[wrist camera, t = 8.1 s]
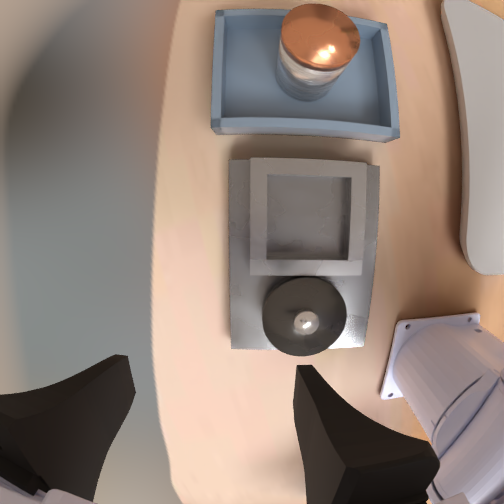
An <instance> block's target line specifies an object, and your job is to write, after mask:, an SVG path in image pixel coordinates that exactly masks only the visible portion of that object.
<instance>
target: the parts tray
mask: <svg viewBox="0 0 504 504" xmlns="http://www.w3.org/2000/svg"><path fill="white" fill-rule="evenodd" d="M289 11H291V10H284V9H231V10H216V15H215V31H214V49H213V70H212V97H211V129H212V130H213V131H214V132H215V134H216V135H230V134H275V135H304V136H322V137H336V138H347V139H358V140H367V141H376V142H384V143H386V142H389V141H392V140H395V139H398V138H400V129H399V112H398V100H397V89H396V80H395V72H394V64H393V57H392V50H391V44H390V38H389V33H388V27H387V24H385V23H381V22H376V21H371V20H366V19H361V18H356V17H350V16H348V17H349V18H350V19H351V20H352V21H353V23H354V24H355V25H356V27H357V29H358V32H359V35H360V46H359V49H358V51H357V53H356V54H355V56H354V57H353V59H352V60H351V61H350V63H349V64H348V66H347V67H346V68H345V70H344V71H343V73H342V74H341V76H340V77H339V78H338V80H337V81H336V83H335V84H334V86H333V87H332V89H331V90H330V91H329V93H328V94H327V95H326V96H325V97H323V98H321V99H319V100H317V101H312V102H304V101H299V100H296V99H293V98H291V97H290V96H288V95H287V94H285V93H284V92H283V91H282V89H281V88H280V87H279V85H278V83H277V79H276V68H277V60H278V52H279V44H280V36H281V28H282V22H283V19H284V17H285V16H286V15H287V13H288V12H289Z"/></svg>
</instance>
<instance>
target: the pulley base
mask: <svg viewBox="0 0 504 504" xmlns="http://www.w3.org/2000/svg"><path fill="white" fill-rule="evenodd" d="M379 176H380V166H375V165H367V163H363V162H351V161H337V160H321V159H299V158H251V160H229V268H230V322H231V349H258V350H280V351H281V352H284V353H286V354H289V355H293V356H309V355H314V354H317V353H320V352H322V351H324V350H326V349H327V348H347V347H362V346H364V342H365V336H366V330H367V324H368V317H369V310H370V303H371V295H372V287H373V278H374V269H375V258H376V246H377V232H378V214H379Z"/></svg>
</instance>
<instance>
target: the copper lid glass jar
mask: <svg viewBox="0 0 504 504" xmlns="http://www.w3.org/2000/svg"><path fill="white" fill-rule="evenodd" d="M359 46H360V35H359V32H358V29H357V27H356V25H355V24H354V23H353V21H352V20H351V19H350V18H349V17H348V16H347V15H345V14H344V13H343V12H341V11H339V10H337V9H335V8H333V7H330V6H327V5H322V4H305V5H301V6H298V7H296V8H294V9H292V10H291V11H289V12H288V13H287V15H286V16H285V17H284V19H283V22H282V28H281V36H280V44H279V52H278V60H277V68H276V79H277V83H278V85H279V87H280V88H281V89H282V91H283V92H284V93H285V94H287V95H288V96H290V97H291V98H293V99H296V100H299V101H304V102H312V101H317V100H319V99H321V98H323V97H325V96H326V95H327V94H328V93H329V91H330V90H331V89H332V87H333V86H334V84H335V83H336V81H337V80H338V78H339V77H340V76H341V74H342V73H343V71H344V70H345V68H346V67H347V66H348V64H349V63H350V61H351V60H352V59H353V57H354V56H355V54H356V53H357V51H358V49H359Z"/></svg>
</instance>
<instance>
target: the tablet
mask: <svg viewBox="0 0 504 504" xmlns="http://www.w3.org/2000/svg"><path fill="white" fill-rule="evenodd" d="M441 12H442V13H441V21H442V25H443V29H444V32H445V36H446V40H447V45H448V49H449V54H450V58H451V63H452V69H453V74H454V80H455V86H456V93H457V101H458V109H459V119H460V131H461V148H462V203H461V221H460V235H459V237H460V245H461V248H462V251H463V253H464V256H465V259H466V261H467V263H468V265H469V266H470V267H471V268H472V269H473V270H474V271H476V272H478V273H480V274H483V275H501V274H504V20H503V19H502V18H500V17H498V16H497V15H495V14H493V13H491V12H490V11H488V10H486V9H484V8H482V7H480V6H478V5H477V4H475V3H473V2H471V1H469V0H443V1H442V3H441Z"/></svg>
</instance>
